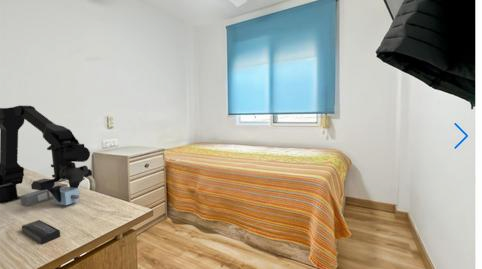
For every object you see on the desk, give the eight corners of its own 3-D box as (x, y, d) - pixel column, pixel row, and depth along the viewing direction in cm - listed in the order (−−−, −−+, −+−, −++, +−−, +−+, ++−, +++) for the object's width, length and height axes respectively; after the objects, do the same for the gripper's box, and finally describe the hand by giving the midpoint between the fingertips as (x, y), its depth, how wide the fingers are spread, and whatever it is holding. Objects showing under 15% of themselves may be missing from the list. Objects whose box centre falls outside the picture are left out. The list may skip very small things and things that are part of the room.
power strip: (21, 205, 86) (19, 193, 85) (62, 191, 100) (60, 181, 100) (28, 206, 85) (27, 194, 84) (68, 192, 99) (67, 182, 98)
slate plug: (50, 202, 84) (48, 190, 84) (64, 197, 89) (62, 186, 89) (71, 206, 81) (70, 193, 80) (84, 200, 86) (83, 188, 85)
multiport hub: (42, 246, 60) (41, 238, 60) (21, 233, 67) (20, 226, 66) (61, 237, 64) (60, 230, 63) (40, 226, 70) (39, 219, 70)
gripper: (49, 168, 72) (54, 212, 74) (100, 156, 90) (103, 192, 92) (27, 166, 75) (33, 208, 77) (80, 155, 93) (84, 190, 95)
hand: (66, 199), depth 85 cm, fingers closed on slate plug, 5 cm apart
